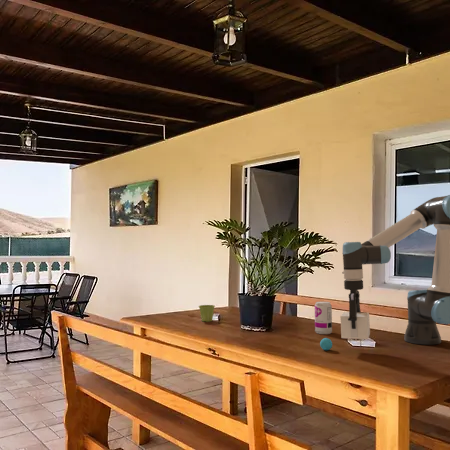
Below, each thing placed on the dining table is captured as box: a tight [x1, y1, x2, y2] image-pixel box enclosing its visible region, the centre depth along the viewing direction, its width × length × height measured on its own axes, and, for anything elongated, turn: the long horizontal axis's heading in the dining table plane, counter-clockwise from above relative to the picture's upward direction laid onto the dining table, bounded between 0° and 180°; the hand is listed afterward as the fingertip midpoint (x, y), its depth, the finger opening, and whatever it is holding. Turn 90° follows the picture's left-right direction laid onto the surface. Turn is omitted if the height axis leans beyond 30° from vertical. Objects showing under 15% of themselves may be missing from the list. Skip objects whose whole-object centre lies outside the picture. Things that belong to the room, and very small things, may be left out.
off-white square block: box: [340, 311, 371, 340], centre depth 191 cm, size 10×10×9 cm
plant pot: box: [198, 304, 216, 323], centre depth 269 cm, size 9×9×9 cm
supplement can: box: [314, 301, 333, 335], centre depth 232 cm, size 8×8×15 cm
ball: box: [319, 337, 333, 351], centre depth 195 cm, size 5×5×5 cm
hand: (355, 334), depth 191 cm, fingers closed on off-white square block, 10 cm apart
